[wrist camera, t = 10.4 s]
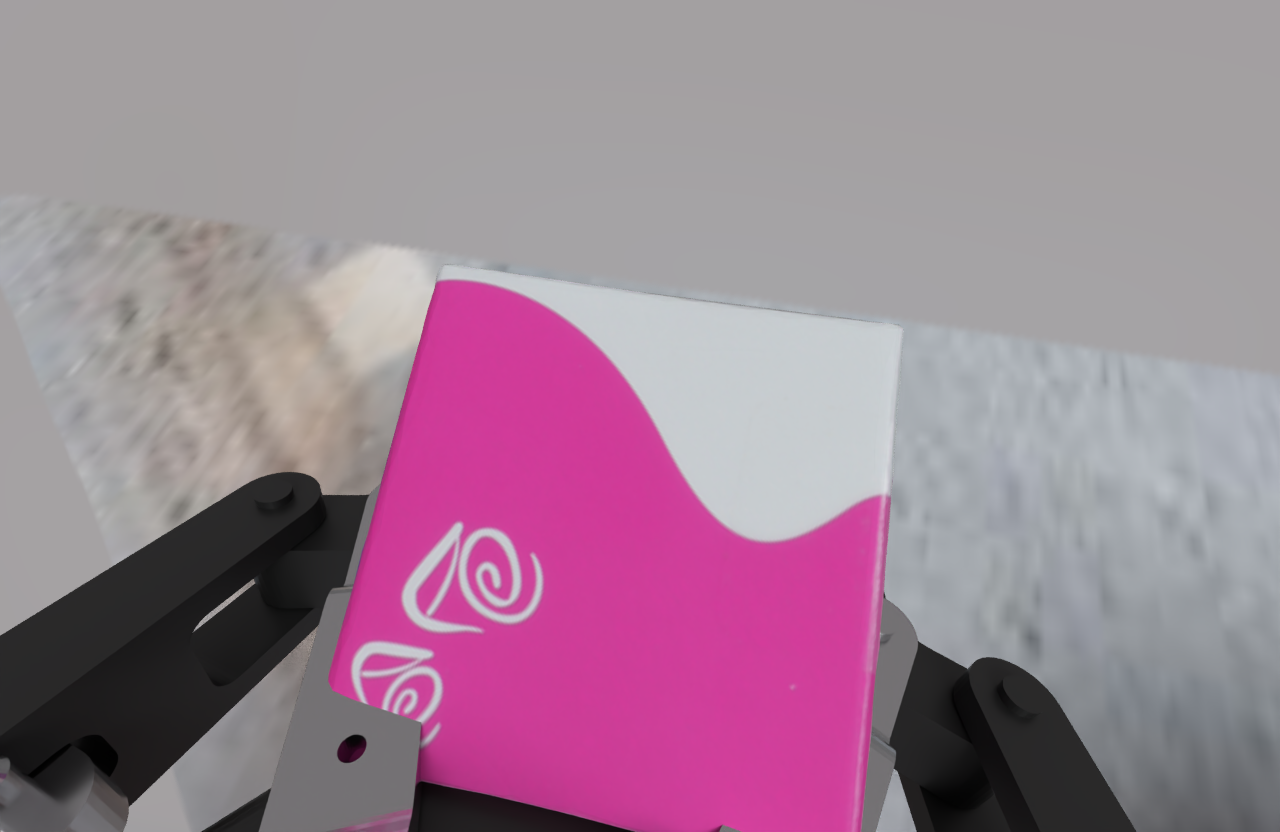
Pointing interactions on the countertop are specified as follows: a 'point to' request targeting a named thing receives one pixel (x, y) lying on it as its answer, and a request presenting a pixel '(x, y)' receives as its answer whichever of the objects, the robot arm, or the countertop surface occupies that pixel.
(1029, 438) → the countertop surface
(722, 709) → the supplement box
